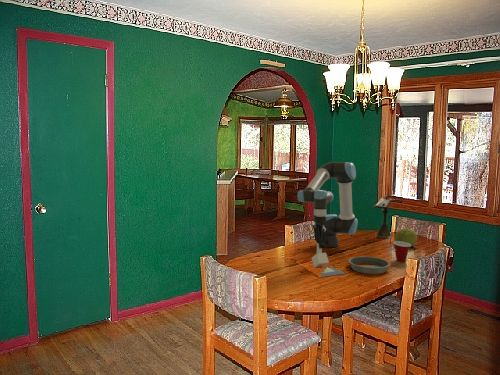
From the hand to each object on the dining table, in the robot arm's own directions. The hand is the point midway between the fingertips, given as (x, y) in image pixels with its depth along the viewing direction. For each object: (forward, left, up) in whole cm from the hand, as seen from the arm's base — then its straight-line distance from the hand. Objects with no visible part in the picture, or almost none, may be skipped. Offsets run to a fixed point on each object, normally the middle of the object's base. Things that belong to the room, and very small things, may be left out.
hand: (319, 253), depth 261 cm
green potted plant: (-22, +88, -10) cm, 91 cm away
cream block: (-1, 0, -2) cm, 2 cm away
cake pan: (+11, +29, -10) cm, 33 cm away
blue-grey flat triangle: (-2, 0, -10) cm, 10 cm away
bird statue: (-51, +91, -10) cm, 105 cm away
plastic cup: (+6, +59, -10) cm, 60 cm away
